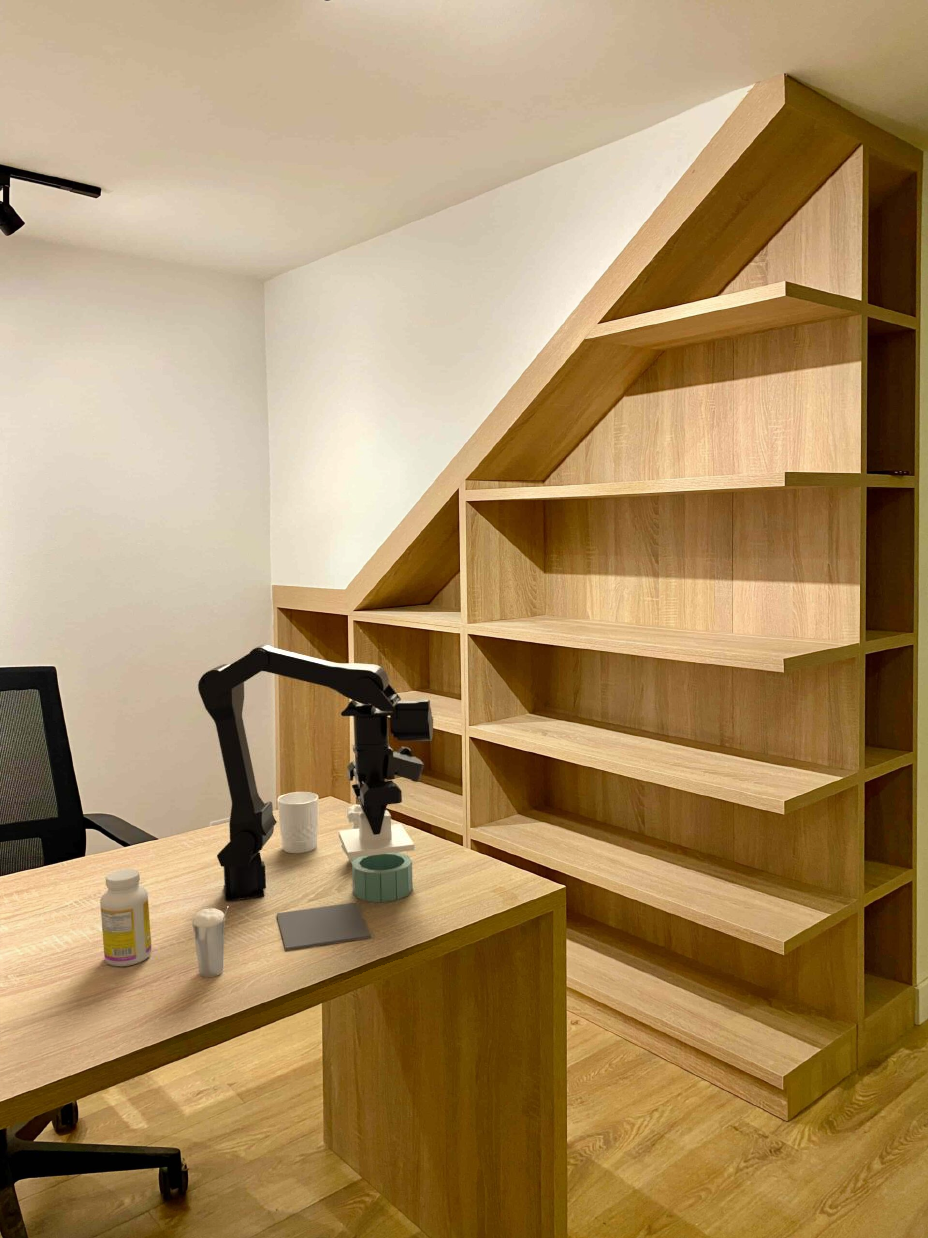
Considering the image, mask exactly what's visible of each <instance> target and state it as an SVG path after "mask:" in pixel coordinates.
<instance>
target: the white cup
mask: <svg viewBox="0 0 928 1238" xmlns="http://www.w3.org/2000/svg"><path fill="white" fill-rule="evenodd" d="M277 811H278V823H279V830H280V835H281V836H280V837H281V848H282V850H283V851H284V852H285V853H290V854H303V853H309V852H311V851H314V850H315V849H317V847H318V833H319V795H318V794H317V793H314V792H309V791H295V792H289V793H286V794H283V795H280V796H279V797H277Z"/></svg>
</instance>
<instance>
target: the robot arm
mask: <svg viewBox="0 0 928 1238" xmlns="http://www.w3.org/2000/svg"><path fill="white" fill-rule="evenodd" d="M261 672H266V673H271V674H274V675H279V676H282V677H286V678H289V679H294V680H298V681H303V682H307V683H309V684H310V683H311V684H313V685H319V686H322V687H326V688H329V689H331V690H334V691H335V692H337V693H339V694H340V695H341V696H343V697H344V698H345V697H346V698H347V699H350V701H349V702H348V705H347V706H346V707H345V708H344V709H343V710H342V711H341V712H340V715H341V717H353V737H354V740H353V741H354V744H352V752H353V753H354V760H352V761H351V762H350V763H349V764H348V765H347V767H346V770H347V772H346V773H347V778H348V781H349V782H351V781H354V779H356V783H355V784H351V788H352V790H353V792H354V795H355V797H356V799H357V801H358V803H359V805H360V806H361V808H362V811H363V813H365V815H366V818H367V820H368V822H369V825H370V827H371V830H372V832H373V834H374V835H377V834H380V832H381V828H382V823H383V819H384V814H385V811H386V810H387V807H388V806H389V805H397V804H401V803H402V802H403V797H402V796H403V794H402V790H401V788H400V787H399V785H398V784H397V783H395V782H394V781H393V780H395V777H401V778H404V779H407V780H408V779H409V780H410V781H412V782H414V783H418V782H420V777H421V775H422V772H423V769H424V765H425V764H424V762H423V761H422V760H421V759H420V758H418V757H417V756H413V752H412V750H411V749H410V747H407V746H401V747H400V748H398V750H397V751H395V750H393V748H391V747H390V744H389V743H390V742H389V729H390V734H391V736H393V738H394V739H395V738H396V739H397V741H398V742H414V741H415V742H420V741H422V742H432V740H433V735H434V715H433V714H432V708H431V701H430V699H419V700H402V698H401V697H400V695H399V694H398V693H397V692H396V690H395V689H394V688H393V687H392V685H391V684H390V683H389V681H390V679H389V676H388V674H387V672H386V670H385V668H383V667H382V666H380V665H378V664H374V663H373V664H371V663H370V664H369V663H361V662H360V663H357V662H356V663H355V662H353V663H350V662H349V663H346V662H345V663H344V662H343V663H339V662H333V661H329V660H325V659H321V658H317V657H313V656H309V655H305V654H301V653H297V652H293V651H289V650H284V649H280V648H276V647H273V646H272V645H269V644H262V645H259V646H257V647H254V648H253V649H252V650H251V651H250V652H249V653H248V654H245V655H244V656H242V657H241V658H239V659H237V660H236V661H234V662H233V663H231V664H229V663H224V664H220V665H218V666H216V667H214V668H211V669H210V670H208V671H206V672H205V673H204V674H203V675H202V676H201V677H200V679H199V680H198V682H197V683H198V684H197V688H198V689H197V690H198V693H199V696H200V698H201V701H202V703H203V707H204V709H205V710H206V711H207V713H208V715H209V716H210V717H211V718H212V720H213V722H214V725H215V728H216V733H217V737H218V738H217V739H218V741H219V742H218V743H219V747H220V752H221V753H220V754H221V757H222V761H223V766H224V767H223V768H224V771H225V777H226V780H227V786H228V790H229V796H230V801H231V809H230V816H229V822H228V823H229V841H228V842H227V844H226V845H225V846H224V847H223V848H222V849H221V850H220V851H219V852H218V853H217V855H216V858H217V860H218V862H219V864H220V867H223V883H224V884H223V894H224V901H226V902H230V901H236V900H237V901H239V900H243V899H244V900H245V899H252V898H259V897H261V898H262V897H264V896H265V889H266V888H267V882H266V881H267V878H266V865H265V861H264V860H262V857H261V850H262V849H263V847H264V846H265V845H266V844H267V843H268V841H269V840H270V838H271V837H272V836H273V834H274V831H275V828H274V827H275V825H277V823H278V822H277V819H276V817H275V816H274V810H273V809H274V808H273V802H272V801H268V802H265V803H264V801H263V800H262V798H261V797H260V795H259V792H258V789H257V787H258V786H257V782H256V779H255V773H254V768H253V764H252V758H251V753H250V749H249V745H248V739H247V734H246V729H245V724H244V719H243V711H244V710H243V709H244V703H245V682H247V681H248V680H250V679H252V678H253V677H254V676H256V675H258V674H259V673H261ZM389 716H390V717H389ZM388 717H389V718H388ZM389 719H390V721H389ZM389 726H390V727H389Z"/></svg>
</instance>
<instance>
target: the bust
mask: <svg viewBox="0 0 928 1238" xmlns="http://www.w3.org/2000/svg"><path fill="white" fill-rule="evenodd" d="M359 813H363V811H362V808H361V806H360V804H356V803H353V805H350V806H349V807H348V808H347V813H346V814H347V815H346V818H347V819H348V822H349V824H352V823H353V828H352V829H359ZM341 849H342V851H343V852H344V853H345V855H346V856H347V854H346V852H345V850H344V847H343V845H342V844H341ZM356 858H357V857H355V858H348V859H349V861H350V863H351V864H352V862H353V861H354V860H355V859H356Z"/></svg>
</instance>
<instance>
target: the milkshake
mask: <svg viewBox="0 0 928 1238" xmlns="http://www.w3.org/2000/svg"><path fill="white" fill-rule="evenodd" d="M229 907H230V906H227V907H226V909H225V913H224V912H223V911H222V910H220V909H219V908H218V909H217V908H213V907H212V908H202V909H200V910H199V911H198V912H196V913H195V914H194V915H193V917H192V920H191V923H192V929H193V934H194V935H193V936H194V942H195V948H196V949H195V950H196V956H197V964H198V972H199V975H200V976H201V977H203V978H213V977H214V978H215V977H218V976H219V975H221V974H223V971H224V953H225V951H224V947H225V945H224V944H225V927H226V915H227V913H228V911H229V910H228V909H229Z"/></svg>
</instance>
